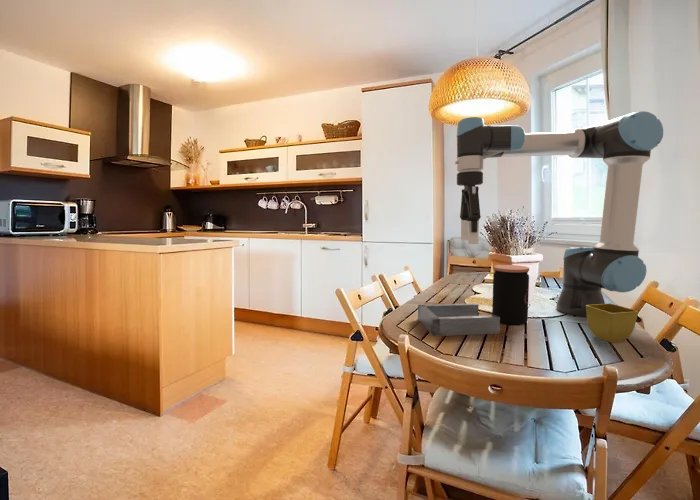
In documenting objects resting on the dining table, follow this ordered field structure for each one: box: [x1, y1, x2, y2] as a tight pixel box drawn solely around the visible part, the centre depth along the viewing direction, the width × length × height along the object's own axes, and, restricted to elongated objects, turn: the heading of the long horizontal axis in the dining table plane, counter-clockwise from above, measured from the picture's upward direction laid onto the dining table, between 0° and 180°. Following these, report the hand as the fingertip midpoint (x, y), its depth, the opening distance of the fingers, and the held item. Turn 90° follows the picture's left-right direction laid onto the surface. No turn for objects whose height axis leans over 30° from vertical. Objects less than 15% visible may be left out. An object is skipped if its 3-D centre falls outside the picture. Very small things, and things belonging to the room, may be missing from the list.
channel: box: [417, 302, 501, 337], centre depth 115 cm, size 20×17×5 cm
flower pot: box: [586, 302, 639, 343], centre depth 102 cm, size 9×9×9 cm
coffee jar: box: [491, 264, 530, 327], centre depth 119 cm, size 11×11×18 cm
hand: (469, 242), depth 113 cm, fingers open, 13 cm apart
